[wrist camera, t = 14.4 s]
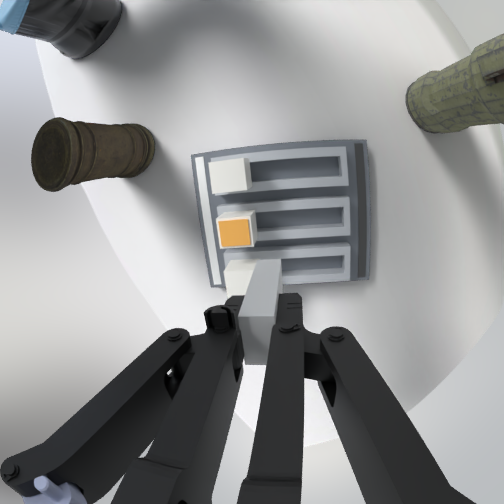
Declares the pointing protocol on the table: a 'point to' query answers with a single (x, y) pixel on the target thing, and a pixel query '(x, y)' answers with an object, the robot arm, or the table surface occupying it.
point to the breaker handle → (237, 229)
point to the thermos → (461, 92)
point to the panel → (288, 210)
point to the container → (88, 152)
